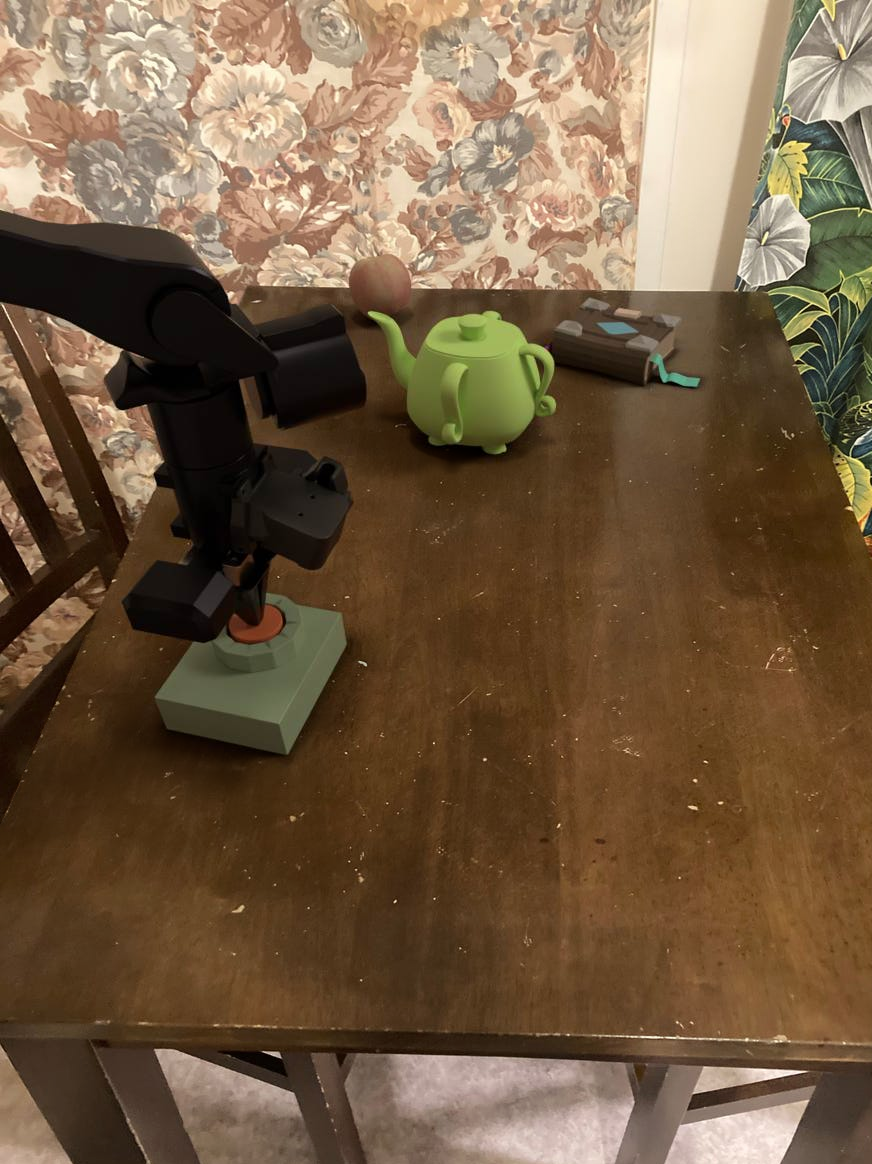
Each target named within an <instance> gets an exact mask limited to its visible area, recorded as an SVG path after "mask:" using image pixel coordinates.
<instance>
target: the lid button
mask: <svg viewBox="0 0 872 1164" xmlns="http://www.w3.org/2000/svg"><path fill="white" fill-rule="evenodd" d="M283 628H284V624H283V620H282V616H281V613H280V612H279V611H278V610H277V609H276V608H274V607H272V606H269V605H265V609H264V617H263V620H262V621H261V623H260V624H259V625H258V626H255V625H249V624H247V623H245V622H244V621H243V620H242V619H241V618H239V617H238V616H237V615H236V614H234V615H233V617H232V618H231V620H230V623H229V629H230V633H231V636H232V639H233V641H234V642H237V643H242V644H247V645H253V644H258V643H263V642H267V641H269V640H271V639H272V638H274V637H276V636H277V635H279V634H280V633H281V631H282V630H283Z"/></svg>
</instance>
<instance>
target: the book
mask: <svg viewBox="0 0 872 1164" xmlns="http://www.w3.org/2000/svg"><path fill="white" fill-rule="evenodd" d="M681 323H682V318H681V316H676V315H672V314H671V315H669V314H665V313H664V314H663V313H655V314H653V315H652V316H651V315H644V314H643V312H642V310H634V309H626V308H622V307H619V308H614V307H611V305H610V304H609V303H608V302H605V301H601V300H598V299H595V298H593V297H588V298H587V299H586V300H585V301H584V302H583V303H582V304H581V305H579V311H577V313H575V315H574V316H572V317H571V318H570V319H568V320H566V319H565V320H563V321H562V322H561V323H559V325H557V326H556V327H555V328H554V329H553V337H552V340H551V341H550V344H549V345H546V346H544V347H543V348H545V349H546V350H547V351H548V352H549V353H550V352H551V356H552V358H553V360H554V363H557V364H562V365H566V366H570V367H571V366H572V367H576V368H579V369H584V370H589V371H592V372H593V371H594V372H598V373H602V374H605V375H608V376H611V377H615V378H618V379H621V380H625V381H628V382H631V383H635V384H639V385H642V386H646V384H647V383H648V382H649V380H650V379H651V378H652V376H653V375H654V374H655V372H656V371H657V370H658V371H659V376H660V378H661V381H662V382H663V383H667V382H673V383H676V384H679V385H681V386H684V387H696V388H697V387H698V386H699V382H700V380H701V378H698V377H688V376H685V375H682V374H680V373H677V372H670V373H667V371H666V369H665V366H664V362H666V360H667V359H668V358H669V357H670V356H671V355H672V354H674V352H675V347H674V343H675V335H676V330H677V328H678V327H679V326H680V324H681Z"/></svg>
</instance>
